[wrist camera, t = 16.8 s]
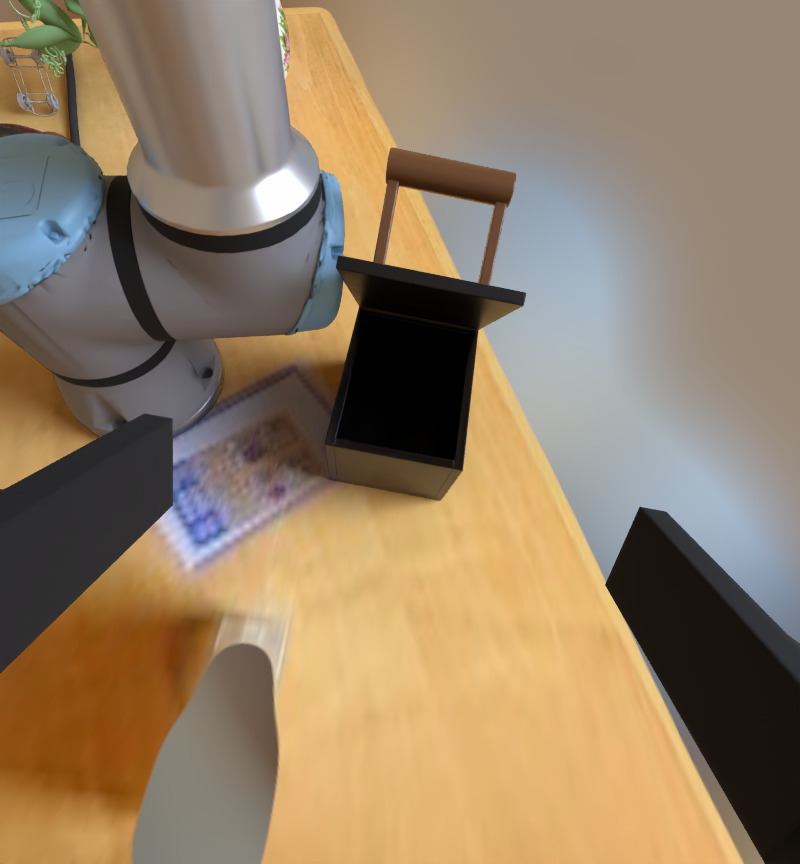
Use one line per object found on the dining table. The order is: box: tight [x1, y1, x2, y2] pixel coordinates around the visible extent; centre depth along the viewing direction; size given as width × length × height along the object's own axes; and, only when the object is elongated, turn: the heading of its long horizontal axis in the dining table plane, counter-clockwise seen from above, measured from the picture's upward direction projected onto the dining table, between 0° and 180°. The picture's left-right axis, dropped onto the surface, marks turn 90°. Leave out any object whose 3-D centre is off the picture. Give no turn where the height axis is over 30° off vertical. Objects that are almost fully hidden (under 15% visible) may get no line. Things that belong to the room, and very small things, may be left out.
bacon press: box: [336, 148, 526, 330], centre depth 34 cm, size 15×12×8 cm
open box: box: [325, 306, 478, 500], centre depth 44 cm, size 15×12×10 cm
